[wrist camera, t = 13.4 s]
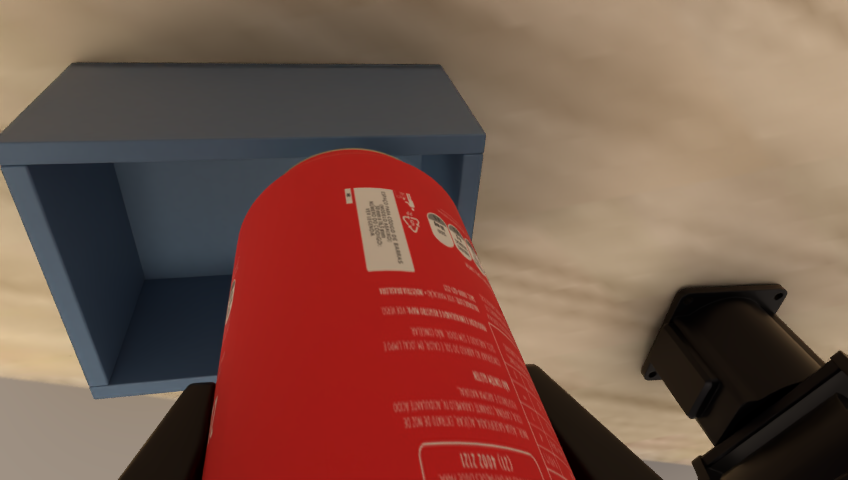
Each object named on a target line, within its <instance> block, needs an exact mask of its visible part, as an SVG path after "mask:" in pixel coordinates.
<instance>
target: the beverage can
mask: <svg viewBox="0 0 848 480" xmlns="http://www.w3.org/2000/svg"><path fill="white" fill-rule="evenodd" d="M202 480H576V479H575V477H574V475H573V473H572V470H571V468H570V466H569V463H568V461H567V459H566V457H565V454H564V452H563V450H562V447H561V445H560V443H559V441H558V438H557V436H556V434H555V432H554V429H553V427H552V425H551V422H550V420H549V418H548V416H547V413H546V411H545V409H544V406H543V404H542V402H541V400H540V397H539V395H538V393H537V390H536V388H535V386H534V384H533V381H532V379H531V377H530V374H529V372H528V370H527V368H526V365H525V363H524V361H523V358H522V356H521V354H520V352H519V349H518V347H517V345H516V342H515V340H514V338H513V336H512V333H511V331H510V329H509V326H508V324H507V322H506V320H505V317H504V315H503V313H502V310H501V308H500V306H499V304H498V301H497V299H496V297H495V294H494V292H493V290H492V288H491V285H490V283H489V281H488V278H487V276H486V274H485V272H484V269H483V267H482V265H481V262H480V260H479V258H478V256H477V253H476V251H475V249H474V246H473V244H472V242H471V240H470V237H469V235H468V233H467V230H466V228H465V226H464V224H463V221H462V219H461V217H460V215H459V212H458V210H457V208H456V206H455V204H454V202H453V201H452V199H451V198H450V196H449V195H448V194H447V192H446V191H445V190H444V189H443V188H442V187H441V186H440V185H439V184H438V183H437V182H436V181H435V180H434V179H432V178H431V177H430V176H429V175H427V174H426V173H424V172H423V171H421V170H419V169H417V168H416V167H414V166H412V165H409V164H407V163H405V162H403V161H401V160H399V159H398V158H395V157H393V156H391V155H388V154H386V153H383V152H379V151H375V150H370V149H363V148H342V149H334V150H329V151H325V152H322V153H318V154H316V155H313V156H310V157H308V158H306V159H304V160H302V161H300V162H299V163H297V164H295V165H294V166H292V167H291V168H290V169H288V170H287V171H286V172H285V173H284V174H283V175H282V176H281V177H280V178H278V179H277V180H276V181H274V182H273V183H272V184H271V185H269V186H268V187H267V188H266V189H265V190H264V191H263V192H262V193H261V194H260V195H259V197H258V198H257V199H256V200H255V202H254V203H253V204H252V206H251V208H250V209H249V211H248V212H247V214H246V216H245V218H244V221H243V223H242V226H241V229H240V232H239V237H238V243H237V249H236V255H235V262H234V268H233V275H232V282H231V288H230V295H229V302H228V308H227V315H226V321H225V328H224V335H223V341H222V348H221V355H220V361H219V368H218V375H217V381H216V388H215V394H214V401H213V408H212V414H211V421H210V428H209V434H208V441H207V447H206V454H205V461H204V467H203V474H202Z"/></svg>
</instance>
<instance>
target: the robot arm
mask: <svg viewBox="0 0 848 480" xmlns="http://www.w3.org/2000/svg"><path fill="white" fill-rule="evenodd" d="M786 295H787V291H786V290H785V289H784V288H783V287H782V286H781V285H778V284H777V285H753V286H729V287H705V288H686V289H683V290H681V291H679V292H678V293H677V294H676V296H675V298H674V300H673V302H672V304H671V306H670V309H669V311H668V313H667V315H666V317H665V319H664V322H663V324H662V326H661V328H660V330H659V332H658V335H657V337H656V339H655V341H654V343H653V346H652V348H651V350H650V352H649V354H648V356H647V359H646V361H645V363H644V365H643V367H642V369H641V374H642V375H643V377H644V378H645V379H646V380H663V381H664V383H665V384H666V386H667V387H668V389H669V390H670V392H671V393H672V395H673V396H674V398H675V399H676V401H677V402H678V403H679V405H680V406H681V408H682V409H683V411H684V412H685V414H686V415H687V416H688V417H689V418H690V419H696V420H697V422H698V423H699V425H700V426H701V428H702V429H703V431H704V432H705V433H706V435H707V436H708V438H709V439H710V441H711V442H712V444H713V445H714V446H715V447H714V448H712V449H711V450H710V451H708V452H707V453H706V454H704V455H703V456H701V455H699V456H698V457H697V458H695V459H694V460H693V461H692V465H693V467H694V469H695V471H696V474H697V476H698V480H848V355H846V354H845V353H844V352H842V351H841V350H840V351H838V352H837V353H836V354H834V355H833V356H832V357H830V359H831V360H830V361H829V362H827V363H825V362H824V361H823V360H821V359H820V358H819V357H818V356H817V355H816V354H815V353H814V352H813V351H812V350H811V349H810V348H809V347H808V346H807V345H806V344H805V343H804V342H803V341H802V340H801V339H800V338H799V337H798V336H797V335H796V334H795V333H794V332H793V331H792V330H791V329H790V328H789V327H788V326H787V325H786V324H785V323H784V322H783V321H782V320H781V319H780V318H779V317H778V316H777V315H776V312H777V311H778V309H779V307H780V306H781V304H782V302H783V301H784V299H785V297H786ZM525 365H526V368H527V370H528V372H529V374H530V377H531V379H532V381H533V384H534V386H535V388H536V390H537V393H538V395H539V397H540V400H541V402H542V404H543V406H544V409H545V411H546V413H547V416H548V418H549V420H550V422H551V425H552V427H553V429H554V432H555V434H556V436H557V438H558V441H559V443H560V445H561V447H562V450H563V452H564V454H565V457H566V459H567V461H568V463H569V466H570V468H571V470H572V473H573V475H574V477H575V479H576V480H663V479H662V478H661V477H660V476H659V475H657V474H656V473H655V472H654V471H653V470H652V469H651V468H650V467H649V466H647V465H646V464H645V463H644V462H643V461H642V460H641V459H640V458H639V457H638V456H636V455H635V454H634V453H633V452H632V451H631V450H630V449H629V448H628V447H627V446H625V445H624V444H623V443H622V442H621V441H620V440H619V439H618V438H617V437H615V436H614V435H613V434H612V433H611V432H610V431H609V430H608V429H607V428H606V427H604V426H603V425H602V424H601V423H600V422H599V421H598V420H597V419H596V418H595V417H593V416H592V415H591V414H590V413H589V412H588V411H587V410H586V409H585V408H584V407H582V406H581V405H580V404H579V403H578V402H577V401H576V400H575V399H574V398H572V397H571V396H570V395H569V394H568V393H567V392H566V391H565V390H564V389H563V388H561V387H560V386H559V385H558V384H557V383H556V382H555V381H554V380H553V379H552V378H550V377H549V376H548V375H547V374H546V373H545V372H544V371H543V370H542V369H540V368H539V367H538V366H536V365H534V364H525ZM215 388H216V384H215V383H214V382H200V383H191V384H190V385H188V386H187V387H186V389H185V390H184V391H183V393H182V394H181V395H180V397H179V398H178V399H177V401H176V402H175V404H174V405H173V406H172V407H171V409H170V410H169V412H168V413H167V414H166V416H165V417H164V418H163V420H162V421H161V422H160V424H159V425H158V426H157V428H156V429H155V431H154V432H153V433H152V434H151V436H150V437H149V439H148V440H147V441H146V443H145V444H144V445H143V447H142V448H141V449H140V451H139V452H138V453H137V455H136V456H135V458H134V459H133V460H132V461H131V463H130V464H129V466H128V467H127V468H126V469H125V471H124V472H123V474H122V475H121V476H120V478H119V479H118V480H202V474H203V467H204V461H205V454H206V447H207V441H208V434H209V428H210V421H211V414H212V408H213V401H214V394H215Z"/></svg>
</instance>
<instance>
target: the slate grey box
mask: <svg viewBox="0 0 848 480" xmlns="http://www.w3.org/2000/svg"><path fill="white" fill-rule="evenodd" d="M485 140H486V133H485V132H484V130H483V129H482V127H481V126H480V124H479V123H478V121H477V120H476V118H475V117H474V115H473V114H472V112H471V110H470V109H469V107H468V106H467V104H466V103H465V101H464V100H463V98H462V97H461V95H460V94H459V92H458V91H457V89H456V88H455V86H454V84H453V83H452V81H451V80H450V78H449V77H448V75H447V74H446V72H445V71H444V69H443V68H442V66H441V65H419V64H235V63H71V64H70V65H69V66H68V67H67V68H66V69H65V70H64V71H63V72H62V73H61V74H60V75H59V76H58V77H57V78H56V79H55V80H54V81H53V82H52V83H51V84H50V85H49V86H48V87H47V88H46V89H45V90H44V91H43V92H42V93H41V94H40V95H39V96H38V97H37V98H36V99H35V100H34V101H33V102H32V103H31V104H30V105H29V106H28V107H27V108H26V109H25V110H24V111H23V112H22V113H21V114H20V115H19V116H18V117H17V118H16V119H15V120H14V121H13V122H12V123H11V124H10V125H9V126H8V127H7V128H6V129H4V130H3V131H2V132H1V133H0V165H1V170H2V173H3V175H4V178H5V180H6V183H7V185H8V188H9V190H10V193H11V195H12V198H13V200H14V202H15V205H16V207H17V210H18V212H19V215H20V217H21V220H22V222H23V225H24V227H25V230H26V232H27V235H28V237H29V239H30V242H31V244H32V247H33V249H34V252H35V254H36V257H37V259H38V262H39V264H40V267H41V269H42V271H43V274H44V276H45V279H46V281H47V284H48V286H49V289H50V291H51V294H52V296H53V299H54V301H55V304H56V306H57V308H58V311H59V313H60V316H61V318H62V321H63V323H64V326H65V328H66V331H67V333H68V336H69V338H70V340H71V343H72V345H73V348H74V350H75V353H76V355H77V358H78V360H79V363H80V365H81V368H82V370H83V373H84V375H85V377H86V380H87V382H88V385H89V386H90V390H91V393H92V395H93V398H94V399H104V398H115V397H125V396H135V395H146V394H156V393H166V392H176V391H184V390H185V389H186V387H187V386H188V385H190V384H191V383H200V382H214V383H215V384H216V381H217V375H218V368H219V361H220V355H221V348H222V341H223V335H224V328H225V321H226V315H227V308H228V302H229V295H230V288H231V282H232V275H233V268H234V262H235V255H236V249H237V243H238V237H239V232H240V229H241V226H242V223H243V221H244V218H245V216H246V214H247V212H248V211H249V209H250V208H251V206H252V204H253V203H254V202H255V200H256V199H257V198H258V197H259V195H260V194H261V193H262V192H263V191H264V190H265V189H266V188H267V187H268V186H269V185H271V184H272V183H273V182H274V181H276V180H277V179H278V178H280V177H281V176H282V175H283V174H284V173H285V172H286V171H287V170H288V169H290V168H291V167H292V166H294V165H295V164H297V163H299V162H300V161H302V160H304V159H306V158H308V157H310V156H313V155H316V154H318V153H322V152H325V151H329V150H334V149H342V148H363V149H370V150H375V151H379V152H383V153H386V154H388V155H391V156H393V157H395V158H398V159H399V160H401V161H403V162H405V163H407V164H409V165H412V166H414V167H416V168H417V169H419V170H421V171H423V172H424V173H426V174H427V175H429V176H430V177H431V178H432V179H434V180H435V181H436V182H437V183H438V184H439V185H440V186H441V187H442V188H443V189H444V190H445V191H446V192H447V194H448V195H449V196H450V198H451V199H452V201H453V202H454V204H455V206H456V208H457V210H458V212H459V215H460V217H461V219H462V221H463V224H464V226H465V228H466V230H467V233H468V235H469V237H470V240H471V242H472V234H473V227H474V220H475V212H476V205H477V198H478V190H479V183H480V175H481V168H482V161H483V153H484V147H485Z"/></svg>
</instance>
